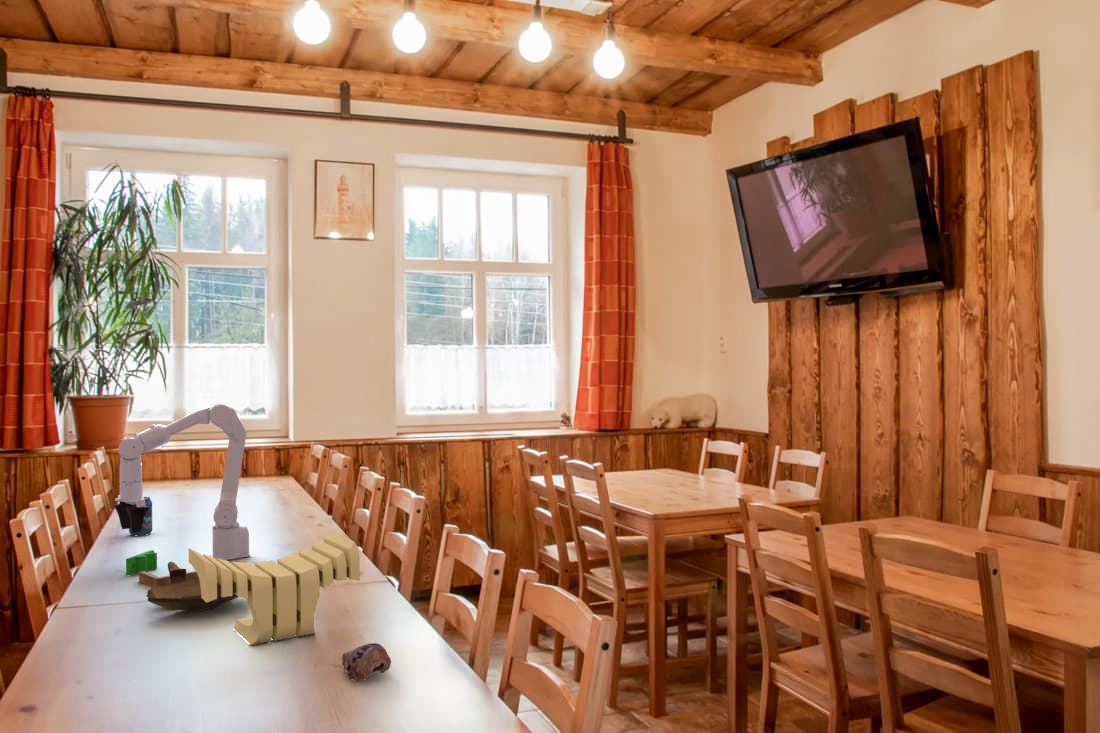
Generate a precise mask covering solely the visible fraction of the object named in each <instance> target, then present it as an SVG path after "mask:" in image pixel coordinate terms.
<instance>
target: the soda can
mask: <svg viewBox="0 0 1100 733" xmlns="http://www.w3.org/2000/svg"><path fill="white" fill-rule="evenodd" d="M143 499H145V506H149V510H148V511H147V513H146V515H145V518H144V521H143V525H142V529H141V532H135V533H132V530H131V528H130V529H128V533H129V535H146V534H149V535H151V533H152V531H153V501H152V500H151V497H150V496H143ZM146 536H147V535H146Z"/></svg>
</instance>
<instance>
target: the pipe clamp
mask: <svg viewBox="0 0 1100 733" xmlns="http://www.w3.org/2000/svg"><path fill="white" fill-rule="evenodd" d="M151 569H152V570H157V569H158V552H155V550H153V549H152V550H147V551H144V552H143V553H139V554H136V555H133V556H130V557H128V558H126V559H125V575H126V576H127V575H130V576H133V575H136V574H139V572H141V571H145V572H148V571H150V570H151ZM148 573H149V572H148Z"/></svg>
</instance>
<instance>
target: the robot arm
mask: <svg viewBox="0 0 1100 733" xmlns="http://www.w3.org/2000/svg"><path fill="white" fill-rule="evenodd" d="M210 422H211V424H213V425H214V426H216V427H217V428H219V429H221V430H222V431H223V432H224V433H225V435H226V436H227V437H228V439H229V440H228V446H227V452H226V459H225V463H224V464H225V465H224V470H223V477H222V483H221V484H222V485H221V489H220V497H219V502H218V503H217V505H216V506H215V508H214V513H213V521H214V524H213V525H212V526H211V528H212V531H211V532H212V554H210V555H209V554H208V556H211V557H213V558H215V559H216V560H217V561H218V559H222V560H227V561H230V560H235V559H241V558H247V557H251V554H250V534H249V533H250V532H249V528H248V527H247V525H245V524H240V522H238V521H237V519H238V511H239V510H238V507H237V498H238V490H239V484H240V478H241V471H242V465H243V459H244V458H243V457H244V452H245V446H246V440H247V430H246V428H245V426H244V424H243V422H242V420H241V419H240V416H239V415H238V412H237V411H236V410H235V409H234V408H233V407H232V406H231V405H229V403H228V404H227V403H225V402H220V403H219V402H218V403H216V404H214V405H213V406H212V405H211V406H207V407H204V408H200V409H197V410H195V411H194V412H191V413H189V414H187V415H186V416H185V415H184V417H183V416H182V418H180V419H177V420H175V421H173V422H171V423H170V424H168V425H164V424H161V423H158V424H156V425H155V424H154V423H153V424H151V425H149V428H147V429H146V430H143V431H141V432H139V433H138V432H135V433H133V434H132V436H133V437H128V438H125V439H124V440H122V441H121V442H120V443H119V445H118V450H117V451H118V454H119V456H120V458H119V462H120V463H119V494H117V497H116V498H115V499H114V501H115V502H118V503H115V504H113V507H114V509H115V512H116V513H117V516H118V519H119V523H120V527H121V530H129V529H130V528H131V530H132V533H135V532H141V529H142V525H143V521H144V518H145V515H146V513H147V511H148V510H149V506H145V499H143V497H144V495H143V463H142V454H143V453H148V452H151V451H152V450H155V449H157V448H159V447H161V446H163V445H165V444H168V443H169V442H170V441H171V440H170V439H171V437H172V436H173V435H176V434H178V433H180V432H182V431H185V430H187V429H190V428H192V427H194V426H196V425H210Z"/></svg>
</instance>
